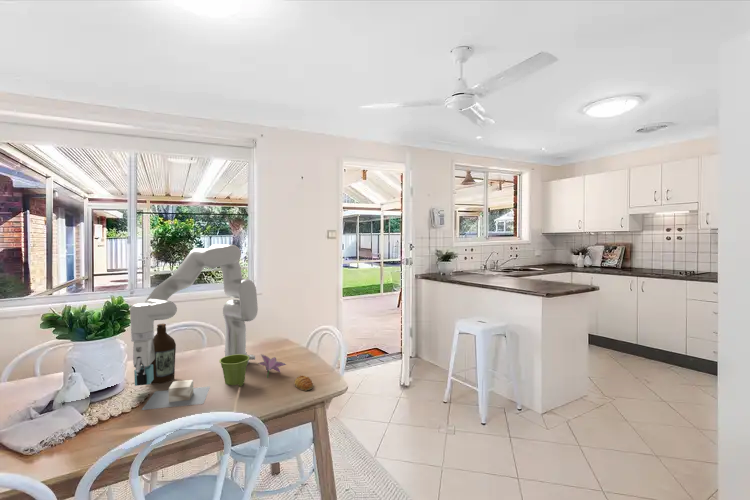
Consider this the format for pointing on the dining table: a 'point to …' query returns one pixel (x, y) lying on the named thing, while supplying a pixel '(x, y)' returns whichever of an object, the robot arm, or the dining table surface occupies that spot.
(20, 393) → the dining table surface
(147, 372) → the teal block
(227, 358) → the plant pot
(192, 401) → the slate board
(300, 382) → the pastry
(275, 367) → the lily
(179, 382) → the cream base block
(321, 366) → the dining table surface
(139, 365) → the robot arm
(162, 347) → the olive oil
